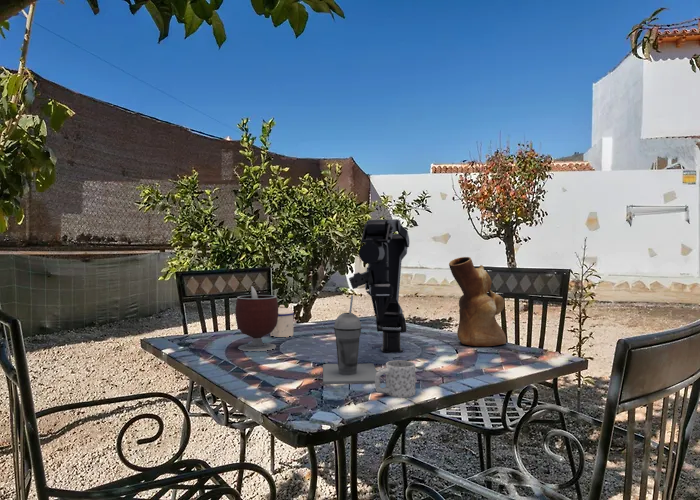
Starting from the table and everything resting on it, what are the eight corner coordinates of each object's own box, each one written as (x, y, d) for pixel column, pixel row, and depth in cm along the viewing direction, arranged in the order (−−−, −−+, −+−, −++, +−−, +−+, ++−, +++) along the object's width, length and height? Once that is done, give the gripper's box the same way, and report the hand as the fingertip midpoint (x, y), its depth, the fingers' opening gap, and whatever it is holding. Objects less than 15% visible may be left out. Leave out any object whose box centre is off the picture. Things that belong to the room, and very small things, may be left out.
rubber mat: (323, 366, 135) (323, 364, 135) (373, 365, 136) (373, 363, 136) (323, 384, 117) (323, 381, 117) (380, 383, 118) (380, 380, 118)
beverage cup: (334, 369, 130) (334, 294, 130) (362, 369, 129) (362, 294, 129) (332, 376, 122) (332, 296, 122) (361, 376, 122) (361, 296, 122)
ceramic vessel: (516, 345, 165) (515, 256, 165) (467, 352, 154) (467, 257, 154) (482, 338, 178) (482, 256, 178) (435, 343, 168) (435, 256, 168)
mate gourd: (283, 350, 157) (282, 288, 157) (239, 354, 151) (239, 290, 151) (271, 342, 171) (271, 285, 171) (231, 345, 166) (231, 286, 166)
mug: (404, 387, 115) (404, 359, 115) (421, 394, 109) (421, 365, 109) (367, 393, 110) (367, 364, 110) (383, 401, 104) (383, 370, 104)
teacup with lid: (275, 333, 189) (275, 303, 189) (297, 334, 187) (297, 304, 187) (262, 338, 178) (262, 307, 178) (285, 340, 175) (285, 307, 175)
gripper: (348, 262, 149) (348, 313, 149) (352, 264, 131) (352, 322, 130) (384, 262, 150) (385, 312, 150) (393, 263, 131) (393, 321, 131)
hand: (378, 317), depth 140 cm, fingers open, 9 cm apart
